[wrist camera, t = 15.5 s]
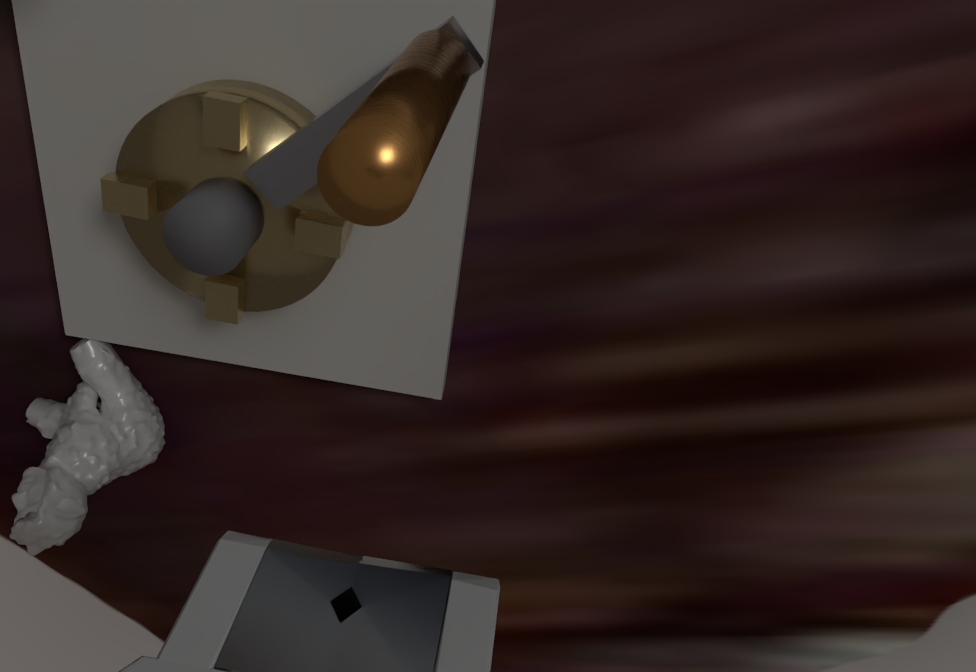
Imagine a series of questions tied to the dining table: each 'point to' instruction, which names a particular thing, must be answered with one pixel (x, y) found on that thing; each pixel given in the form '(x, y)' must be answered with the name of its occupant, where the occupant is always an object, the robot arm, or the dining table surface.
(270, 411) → the dining table surface
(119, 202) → the brass disc with post
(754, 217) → the dining table surface
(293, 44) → the white rectangular board
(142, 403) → the seated beast figurine
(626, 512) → the dining table surface
